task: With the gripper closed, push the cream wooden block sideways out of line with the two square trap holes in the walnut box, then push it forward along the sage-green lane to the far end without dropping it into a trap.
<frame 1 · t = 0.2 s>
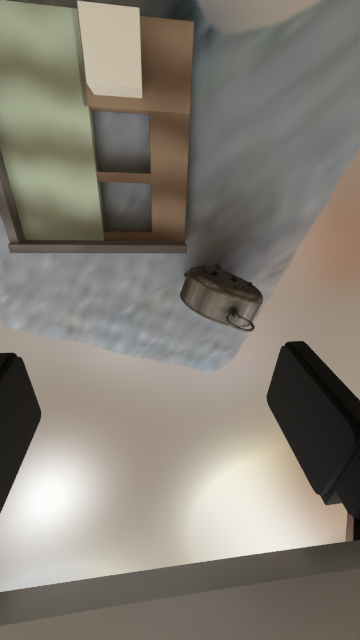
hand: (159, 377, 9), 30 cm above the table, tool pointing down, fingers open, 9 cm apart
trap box: (96, 152, 30), on the table
block: (116, 64, 25), point 2 cm above the table, touching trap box
alarm clock: (211, 275, 41), on the table
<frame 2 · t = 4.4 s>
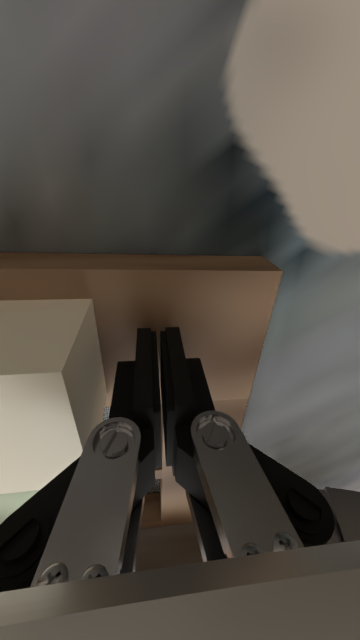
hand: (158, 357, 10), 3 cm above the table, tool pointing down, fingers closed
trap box: (56, 428, 15), on the table
block: (37, 354, 10), point 2 cm above the table, touching gripper, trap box
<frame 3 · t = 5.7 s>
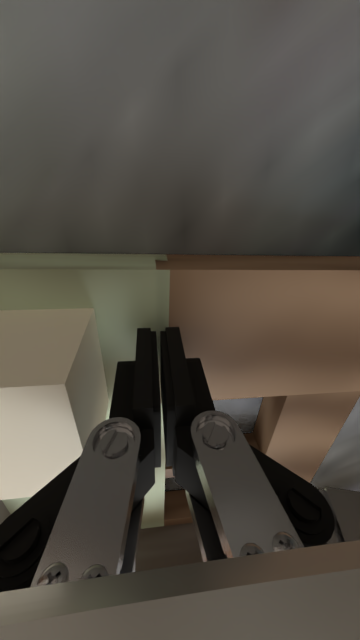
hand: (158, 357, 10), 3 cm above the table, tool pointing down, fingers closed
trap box: (163, 421, 16), on the table
block: (41, 362, 10), point 2 cm above the table, touching gripper, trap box
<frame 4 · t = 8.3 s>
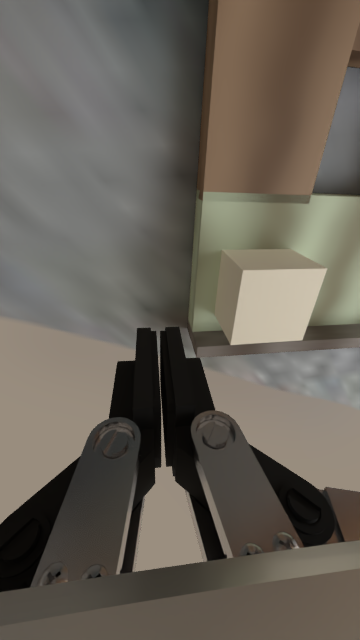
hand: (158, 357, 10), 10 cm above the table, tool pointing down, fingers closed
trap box: (345, 194, 18), on the table
block: (250, 283, 18), point 2 cm above the table, touching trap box
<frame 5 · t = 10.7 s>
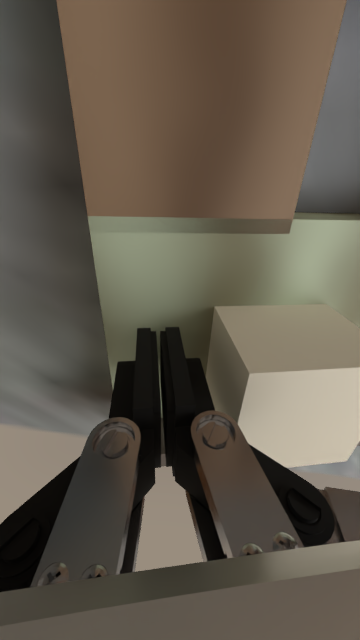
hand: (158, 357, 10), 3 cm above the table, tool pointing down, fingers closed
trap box: (354, 213, 11), on the table
block: (260, 352, 12), point 2 cm above the table, touching gripper
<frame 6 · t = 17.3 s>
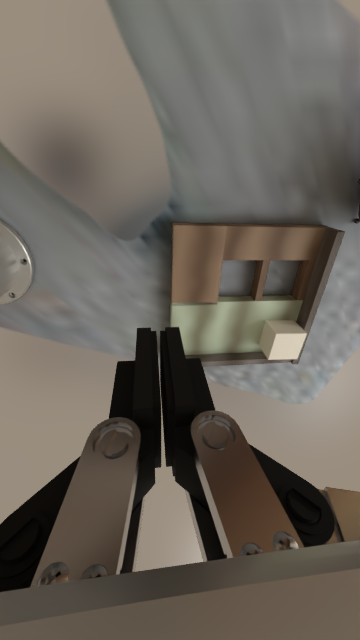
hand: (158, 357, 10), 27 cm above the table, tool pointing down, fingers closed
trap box: (238, 296, 40), on the table
block: (275, 332, 42), point 2 cm above the table, touching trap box
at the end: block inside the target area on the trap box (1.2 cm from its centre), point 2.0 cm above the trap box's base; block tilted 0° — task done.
